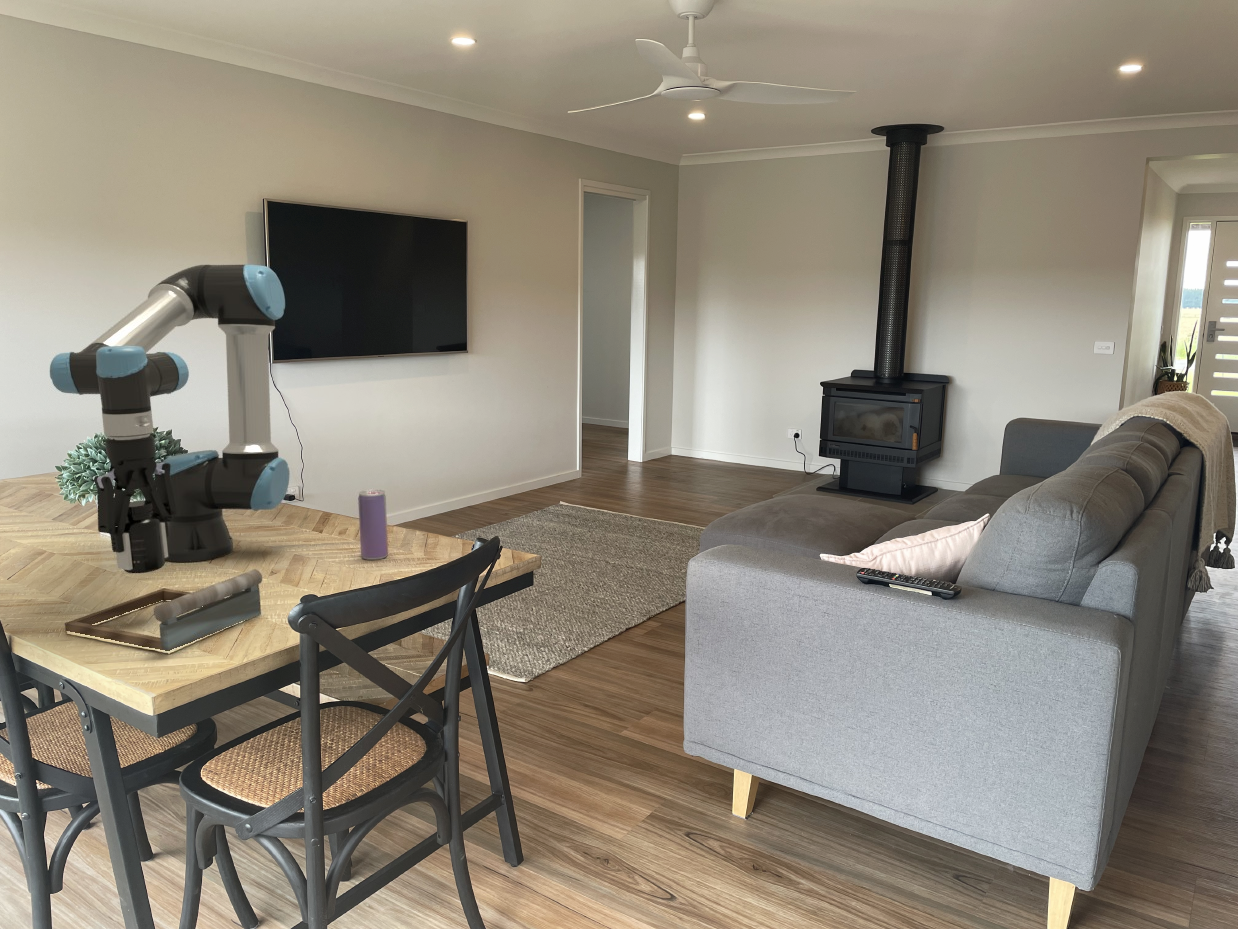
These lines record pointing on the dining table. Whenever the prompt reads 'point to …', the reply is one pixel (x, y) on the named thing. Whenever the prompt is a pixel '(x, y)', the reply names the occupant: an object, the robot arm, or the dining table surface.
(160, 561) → the supplement bottle
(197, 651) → the dining table surface
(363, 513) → the beverage can
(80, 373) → the robot arm
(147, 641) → the bay
